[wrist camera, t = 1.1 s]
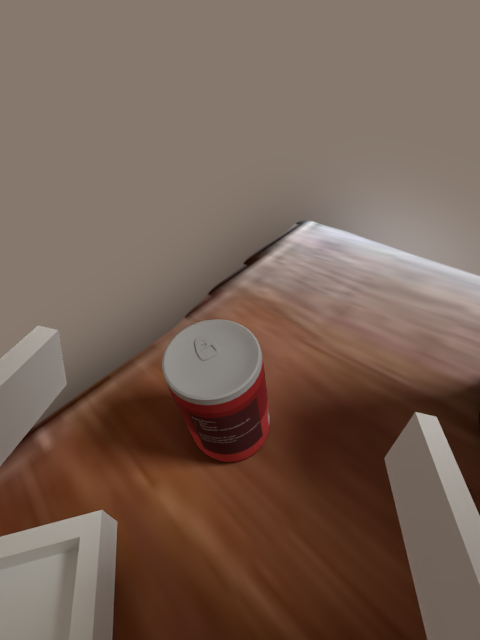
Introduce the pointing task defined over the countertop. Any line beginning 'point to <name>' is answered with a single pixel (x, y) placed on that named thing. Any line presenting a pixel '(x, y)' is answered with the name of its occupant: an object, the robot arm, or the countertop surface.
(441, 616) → the robot arm
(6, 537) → the tray
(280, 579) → the countertop surface
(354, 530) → the countertop surface
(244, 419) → the canned food
